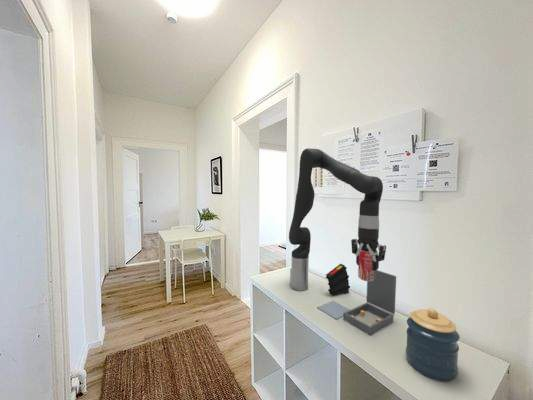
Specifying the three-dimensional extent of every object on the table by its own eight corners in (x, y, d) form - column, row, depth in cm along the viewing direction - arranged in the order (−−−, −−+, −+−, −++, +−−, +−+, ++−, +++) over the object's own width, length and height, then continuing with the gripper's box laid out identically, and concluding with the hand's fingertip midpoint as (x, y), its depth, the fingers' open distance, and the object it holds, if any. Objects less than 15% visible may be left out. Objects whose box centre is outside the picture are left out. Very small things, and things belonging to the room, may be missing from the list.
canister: (434, 349, 76) (436, 298, 75) (470, 382, 63) (473, 321, 62) (396, 350, 75) (398, 299, 75) (425, 383, 63) (427, 321, 62)
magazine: (354, 288, 118) (345, 265, 115) (336, 303, 114) (327, 279, 111) (349, 285, 122) (340, 263, 119) (331, 300, 117) (322, 276, 114)
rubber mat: (316, 307, 102) (316, 306, 102) (333, 301, 108) (333, 300, 108) (336, 319, 93) (336, 318, 93) (353, 312, 99) (353, 311, 99)
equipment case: (343, 319, 93) (344, 274, 92) (367, 308, 102) (369, 267, 101) (370, 335, 83) (371, 285, 82) (394, 321, 92) (396, 276, 91)
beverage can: (361, 275, 95) (362, 247, 94) (377, 279, 90) (378, 250, 90) (355, 279, 90) (356, 249, 90) (371, 284, 86) (372, 253, 85)
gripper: (347, 224, 93) (345, 264, 94) (380, 230, 81) (378, 275, 82) (358, 223, 97) (356, 261, 98) (391, 228, 85) (389, 271, 86)
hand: (366, 267), depth 90 cm, fingers closed on beverage can, 6 cm apart
